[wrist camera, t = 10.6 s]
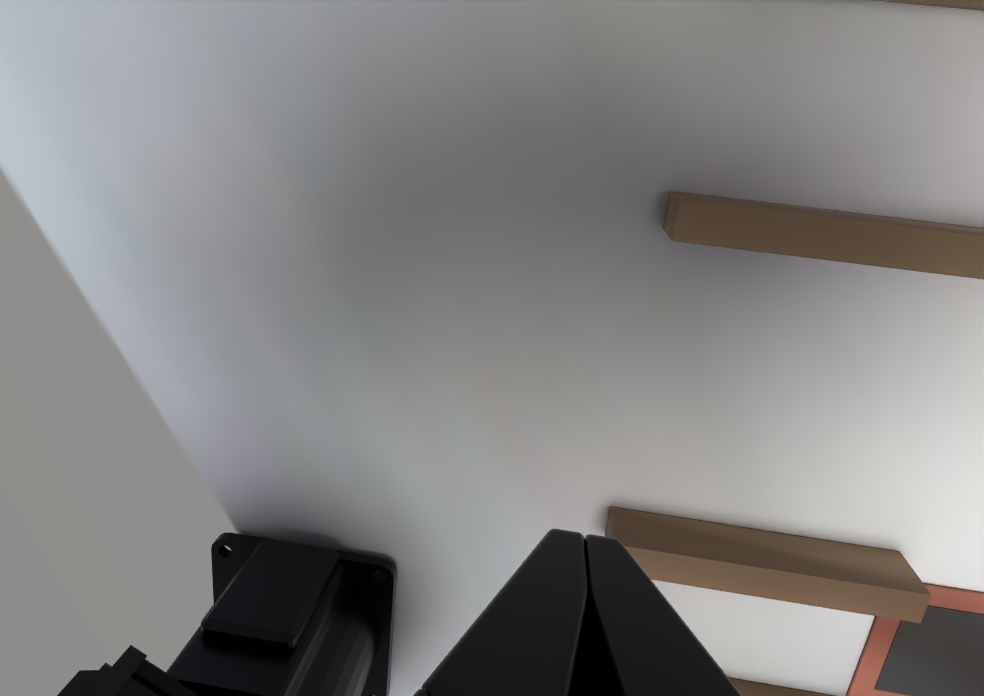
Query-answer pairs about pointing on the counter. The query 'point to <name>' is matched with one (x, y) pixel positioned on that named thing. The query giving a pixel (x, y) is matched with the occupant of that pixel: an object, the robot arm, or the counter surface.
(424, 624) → the counter surface
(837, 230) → the brown bars
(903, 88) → the counter surface
